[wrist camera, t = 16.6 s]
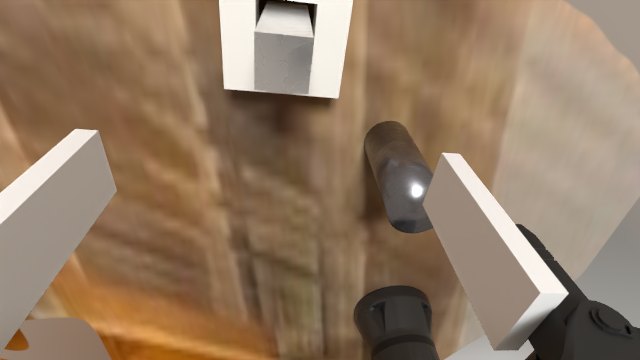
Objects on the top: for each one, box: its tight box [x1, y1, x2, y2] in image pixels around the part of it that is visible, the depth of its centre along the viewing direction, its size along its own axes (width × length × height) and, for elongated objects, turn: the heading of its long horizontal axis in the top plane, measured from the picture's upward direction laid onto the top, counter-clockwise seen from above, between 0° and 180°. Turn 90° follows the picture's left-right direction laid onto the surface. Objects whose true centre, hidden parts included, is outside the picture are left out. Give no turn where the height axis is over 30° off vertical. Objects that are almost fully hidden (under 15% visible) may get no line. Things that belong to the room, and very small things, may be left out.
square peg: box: [254, 1, 314, 94], centre depth 29 cm, size 4×4×14 cm
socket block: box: [219, 0, 353, 98], centre depth 33 cm, size 12×12×4 cm
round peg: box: [364, 121, 434, 233], centre depth 38 cm, size 6×6×14 cm
